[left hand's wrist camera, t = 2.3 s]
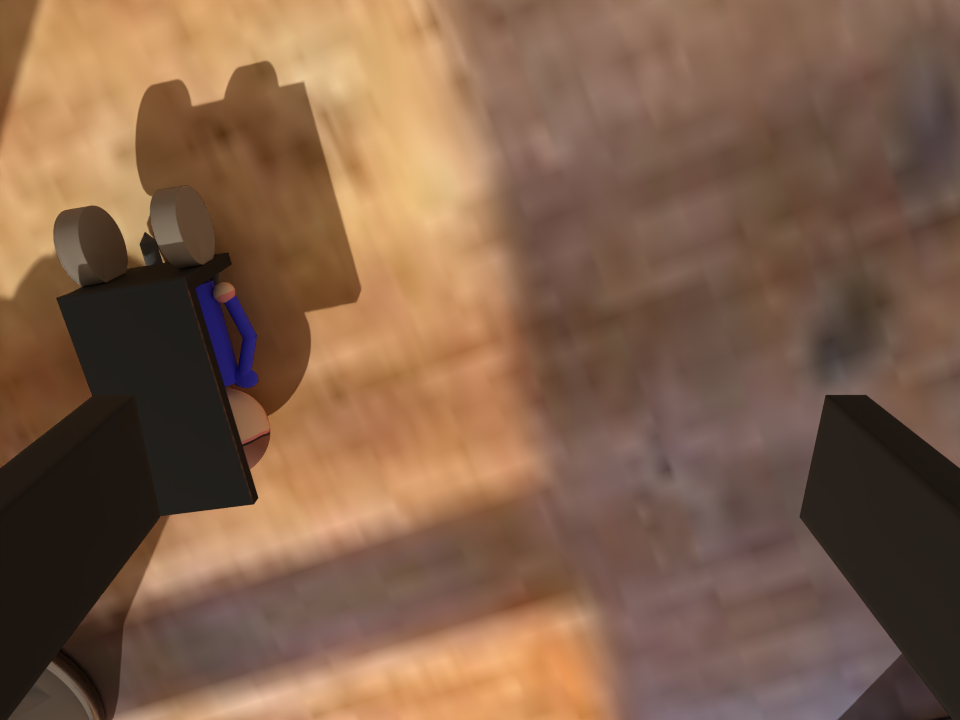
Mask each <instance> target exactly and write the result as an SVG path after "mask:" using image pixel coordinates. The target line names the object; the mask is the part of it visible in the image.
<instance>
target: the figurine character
mask: <svg viewBox="0 0 960 720" xmlns="http://www.w3.org/2000/svg"><path fill="white" fill-rule="evenodd" d="M150 217H151V224H152V229H153V233H154V236H155V239H156V240H155V239H153V238H152V237H151V236H150V235H148V234H147V233H146V232H145V233H144V235H143V238H142V240H141V242H140V247H141V250H142V253H143V257H144V260H145V263H146V266H143V267H137V268H130V269H127V250H126V246H125V242H124V239H123V236H122V234H121V231H120V229H119V227H118V226H117V224H116V222H115V221H114V220H113V218H112V217H111V216H110V215H109V214H108V213H107V212H106V211H105V210H103V209H102V208H100V207H98V206H87V207H81V208H75V209H69V210H65V211H63V212H61V213H60V214H59V215H58V217H57V218H56V221H55V224H54V232H53V234H54V244H55V249H56V252H57V255H58V258H59V260H60V262H61V264H62V266H63V268H64V269H65V271H66V272H67V274H68V275H69V276H70V277H71V278H72V279H73V280H74V281H75V282H76V283H77V284H79V285H81V286H83V287H81V288H79V289H77V290H75V291H73V292H71V293H69V294H67V295H63V296H61V297H58V298H56V299H57V301H58V304H59V307H60V309H61V312H62V315H63V318H64V320H65V323H66V326H67V328H68V331H69V334H70V337H71V339H72V342H73V345H74V347H75V350H76V353H77V355H78V358H79V361H80V364H81V366H82V369H83V372H84V374H85V377H86V380H87V383H88V385H89V388H90V391H91V393H92V396H93V395H134V396H135V401H136V405H137V410H138V415H139V419H140V424H141V429H142V433H143V438H144V443H145V447H146V452H147V457H148V461H149V466H150V471H151V475H152V480H153V485H154V489H155V494H156V499H157V503H158V508H159V513H160V516H165V515H173V514H181V513H189V512H197V511H204V510H212V509H220V508H228V507H236V506H244V505H252V504H254V503H255V502H256V501H257V499H258V495H257V492H256V489H255V485H254V482H253V479H252V475H251V472H250V469H251V468H252V467H254V466H255V465H256V464H257V463H258V462H259V461H260V459H261V458H262V457H263V455H264V453H265V451H266V449H267V447H268V444H269V439H270V424H269V420H268V417H267V415H266V413H265V411H264V409H263V408H262V406H261V405H260V404H259V403H258V402H257V401H256V400H255V399H254V398H253V397H251V396H250V395H248V394H246V393H244V392H242V391H239V390H236V389H231V388H225V387H226V386H229V385H231V384H235V385H237V386H239V387H242V388H251V387H253V386H255V385H256V384H257V383H258V376H257V374H256V373H255V372H254V371H253V370H252V364H253V358H254V351H255V345H256V339H257V335H256V333H255V331H254V329H253V327H252V325H251V323H250V321H249V319H248V317H247V316H246V314H245V312H244V310H243V308H242V306H241V304H240V302H239V300H238V298H237V296H236V295H235V289H234V287H233V286H232V285H231V284H230V283H227V282H221V283H218V280H219V277H220V274H219V272H221V271H222V270H224V269H225V268H227V267H228V266H230V265H231V260H230V257H229V254H228V253H223V254H217V255H214V253H215V235H214V229H213V224H212V221H211V217H210V214H209V212H208V209H207V207H206V205H205V203H204V201H203V200H202V198H201V197H200V195H199V194H198V193H197V191H196V190H194V189H193V188H192V187H190V186H187V185H184V186H178V187H172V188H167V189H161V190H158V191H156V192H155V193H154V195H153V197H152V200H151V205H150ZM156 241H157V242H156ZM157 244H158V246H159V248H160V250H161V252H162V253H163V255H164V256H165V258H166V259H167V260H168V261H169V262H168V263H163V262H162V259H161V255H160V252H159V249H158V246H157ZM207 280H210V281H207ZM217 283H218V284H217ZM220 302H221V303H225V305H226V307H227V309H228V311H229V313H230V315H231V317H232V318H233V320H234V322H235V324H236V326H237V328H238V330H239V332H240V334H241V335H242V337H243V340H242V346H241V353H240V359H239V366H238V365H237V361H236V358H235V354H234V351H233V347H232V344H231V340H230V337H229V333H228V330H227V326H226V323H225V319H224V316H223V312H222V309H221V305H220Z"/></svg>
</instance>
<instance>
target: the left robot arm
mask: <svg viewBox="0 0 960 720" xmlns="http://www.w3.org/2000/svg"><path fill="white" fill-rule="evenodd" d="M159 518H160V513H159V508H158V503H157V499H156V494H155V489H154V485H153V480H152V475H151V471H150V466H149V461H148V457H147V452H146V447H145V443H144V438H143V433H142V429H141V424H140V419H139V415H138V410H137V405H136V401H135V396H134V395H93V396H92V397H91V398H90V399H88V400H87V401H86V402H84V403H83V404H82V405H81V406H79V407H78V408H77V409H76V410H74V411H73V412H72V413H70V414H69V415H68V416H67V417H65V418H64V419H63V420H61V421H60V422H59V423H58V424H56V425H55V426H54V427H53V428H51V429H50V430H49V431H47V432H46V433H45V434H44V435H42V436H41V437H40V438H38V439H37V440H36V441H35V442H33V443H32V444H31V445H30V446H28V447H27V448H26V449H24V450H23V451H22V452H21V453H19V454H18V455H17V456H15V457H14V458H13V459H12V460H10V461H9V462H8V463H7V464H5V465H4V466H3V467H1V468H0V720H8V719H9V717H10V716H11V715H12V713H13V712H14V711H15V709H16V708H17V707H18V705H19V704H20V703H21V701H22V700H23V699H24V697H25V696H26V695H27V693H28V692H29V691H30V689H31V688H32V687H33V685H34V684H35V683H36V681H37V680H38V679H39V677H40V676H41V675H42V673H43V672H44V671H45V669H46V668H47V667H48V665H49V664H50V663H51V661H52V660H53V659H54V657H55V656H56V655H57V654H58V652H59V651H60V650H61V648H62V647H63V646H64V644H65V643H66V642H67V640H68V639H69V638H70V636H71V635H72V634H73V632H74V631H75V630H76V628H77V627H78V626H79V624H80V623H81V622H82V620H83V619H84V618H85V616H86V615H87V614H88V612H89V611H90V610H91V608H92V607H93V606H94V604H95V603H96V602H97V600H98V599H99V598H100V596H101V595H102V594H103V592H104V591H105V590H106V588H107V587H108V586H109V585H110V583H111V582H112V581H113V579H114V578H115V577H116V575H117V574H118V573H119V571H120V570H121V569H122V567H123V566H124V565H125V563H126V562H127V561H128V559H129V558H130V557H131V555H132V554H133V553H134V551H135V550H136V549H137V547H138V546H139V545H140V543H141V542H142V541H143V539H144V538H145V537H146V535H147V534H148V533H149V531H150V530H151V529H152V527H153V526H154V525H155V523H156V522H157V521H158V520H159ZM800 518H801V520H802V521H803V522H804V523H805V525H806V526H807V527H808V529H809V530H810V531H811V533H812V534H813V535H814V537H815V538H816V539H817V541H818V542H819V543H820V545H821V546H822V547H823V549H824V550H825V551H826V553H827V554H828V555H829V557H830V558H831V559H832V561H833V562H834V563H835V565H836V566H837V567H838V569H839V570H840V571H841V573H842V574H843V575H844V577H845V578H846V579H847V581H848V582H849V583H850V585H851V586H852V587H853V588H854V590H855V591H856V592H857V594H858V595H859V596H860V598H861V599H862V600H863V602H864V603H865V604H866V606H867V607H868V608H869V610H870V611H871V612H872V614H873V615H874V616H875V618H876V619H877V620H878V622H879V623H880V624H881V626H882V627H883V628H884V630H885V631H886V632H887V634H888V635H889V636H890V638H891V639H892V640H893V642H894V643H895V644H896V646H897V647H898V648H899V650H900V651H901V652H902V654H903V655H904V656H905V657H906V659H907V660H908V661H909V663H910V664H911V665H912V667H913V668H914V669H915V671H916V672H917V673H918V675H919V676H920V677H921V679H922V680H923V681H924V683H925V684H926V685H927V687H928V688H929V689H930V691H931V692H932V693H933V695H934V696H935V697H936V699H937V700H938V701H939V703H940V704H941V705H942V707H943V708H944V709H945V711H946V712H947V713H948V715H949V716H950V717H951V719H952V720H960V468H959V467H957V466H956V465H955V464H953V463H952V462H951V461H950V460H948V459H947V458H946V457H945V456H943V455H942V454H941V453H939V452H938V451H937V450H936V449H934V448H933V447H932V446H930V445H929V444H928V443H927V442H925V441H924V440H923V439H922V438H920V437H919V436H918V435H916V434H915V433H914V432H913V431H911V430H910V429H909V428H907V427H906V426H905V425H904V424H902V423H901V422H900V421H899V420H897V419H896V418H895V417H893V416H892V415H891V414H890V413H888V412H887V411H886V410H884V409H883V408H882V407H881V406H879V405H878V404H877V403H876V402H874V401H873V400H872V399H870V398H869V397H868V396H867V395H826V396H825V401H824V405H823V410H822V415H821V419H820V424H819V429H818V433H817V438H816V443H815V447H814V452H813V457H812V461H811V466H810V471H809V475H808V480H807V485H806V489H805V494H804V499H803V503H802V508H801V513H800Z"/></svg>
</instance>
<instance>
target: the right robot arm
mask: <svg viewBox="0 0 960 720" xmlns="http://www.w3.org/2000/svg"><path fill="white" fill-rule="evenodd" d="M8 720H105V714H104V709H103V705H102V702H101V699H100V697H99V695H98V693H97V691H96V689H95V687H94V686H93V684H92V683H91V681H90V680H89V679H88V677H87V676H86V675H85V674H84V673H83V671H82V670H81V669H80V668H79V667H78V666H77V665H76V664H75V663H74V662H73V661H71V660H70V659H69V658H68V657H67V656H65V655H64V654H63V653H61V652H60V651H59V652H58V654H57V655H56V656H55V657H54V659H53V660H52V661H51V663H50V664H49V665H48V667H47V668H46V669H45V671H44V672H43V673H42V675H41V676H40V677H39V679H38V680H37V681H36V683H35V684H34V685H33V687H32V688H31V689H30V691H29V692H28V693H27V695H26V696H25V697H24V699H23V700H22V701H21V703H20V704H19V705H18V707H17V708H16V709H15V711H14V712H13V713H12V715H11V716H10V717H9V719H8Z"/></svg>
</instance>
